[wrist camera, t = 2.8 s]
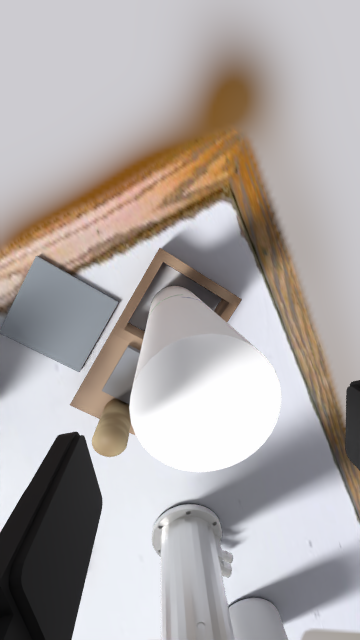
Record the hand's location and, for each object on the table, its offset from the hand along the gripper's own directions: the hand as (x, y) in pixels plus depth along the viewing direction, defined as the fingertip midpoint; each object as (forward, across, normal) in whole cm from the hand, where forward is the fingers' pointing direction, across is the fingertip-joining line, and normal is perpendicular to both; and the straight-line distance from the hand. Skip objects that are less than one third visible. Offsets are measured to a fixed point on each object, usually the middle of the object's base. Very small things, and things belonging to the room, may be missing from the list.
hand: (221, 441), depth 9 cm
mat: (+28, +16, -1) cm, 32 cm away
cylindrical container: (+28, 0, +1) cm, 28 cm away
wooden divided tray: (+28, +4, +6) cm, 29 cm away
